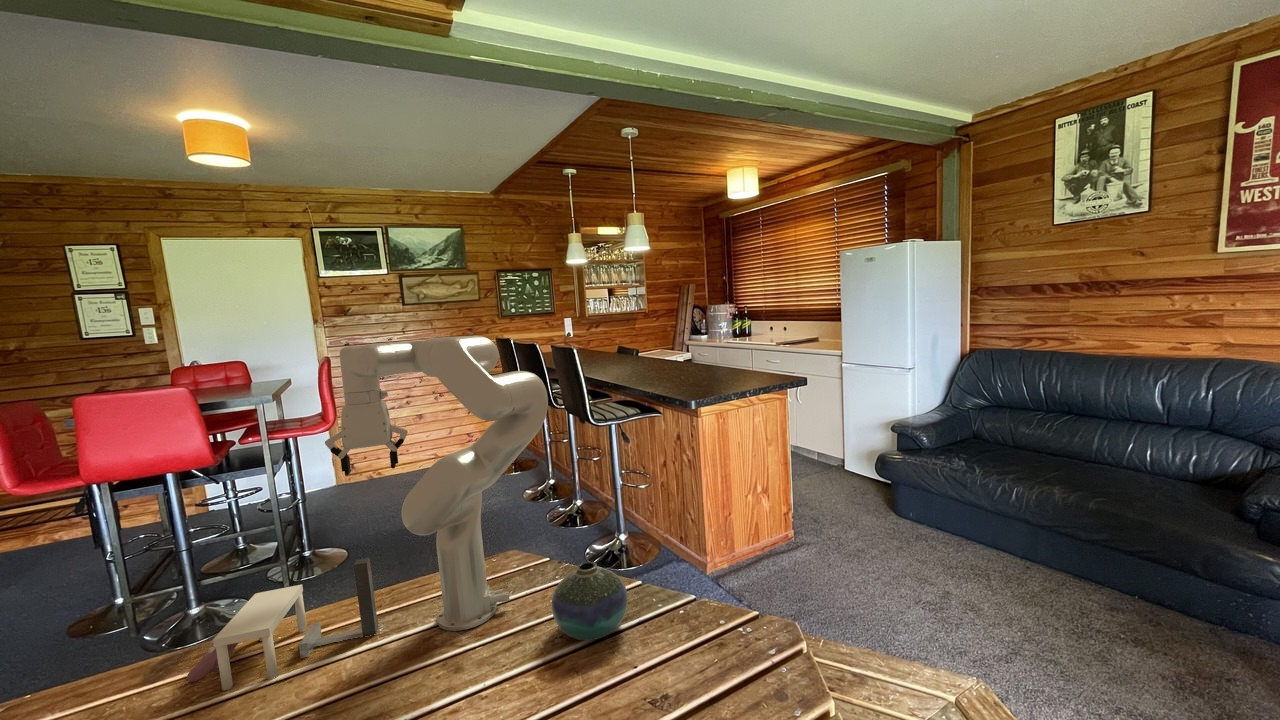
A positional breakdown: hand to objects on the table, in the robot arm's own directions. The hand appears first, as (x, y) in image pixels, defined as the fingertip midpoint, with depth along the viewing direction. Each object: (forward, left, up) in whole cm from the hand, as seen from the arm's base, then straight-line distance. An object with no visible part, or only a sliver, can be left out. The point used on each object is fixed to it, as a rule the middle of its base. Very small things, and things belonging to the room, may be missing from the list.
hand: (371, 470), depth 122 cm
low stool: (+20, +13, -32) cm, 40 cm away
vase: (-44, +32, -33) cm, 63 cm away
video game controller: (+29, +12, -33) cm, 45 cm away
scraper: (+6, +13, -32) cm, 35 cm away
